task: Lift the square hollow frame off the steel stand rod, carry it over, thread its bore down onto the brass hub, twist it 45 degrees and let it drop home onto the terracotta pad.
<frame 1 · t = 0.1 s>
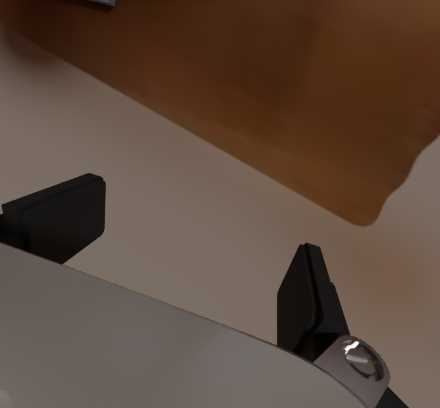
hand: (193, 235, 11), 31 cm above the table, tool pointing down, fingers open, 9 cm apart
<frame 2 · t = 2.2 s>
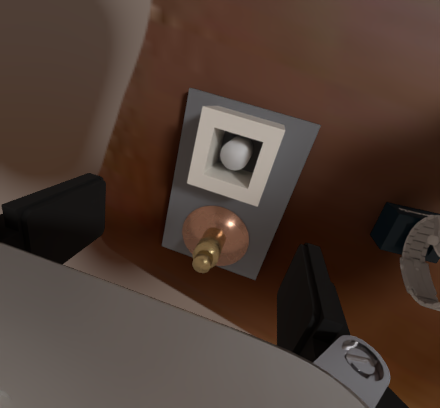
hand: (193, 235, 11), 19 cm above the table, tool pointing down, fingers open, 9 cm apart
board: (229, 192, 30), on the table
hub: (217, 231, 33), resting on board
watch: (402, 223, 27), on the table
square hollow frame: (240, 148, 26), point 1 cm above the table, touching board
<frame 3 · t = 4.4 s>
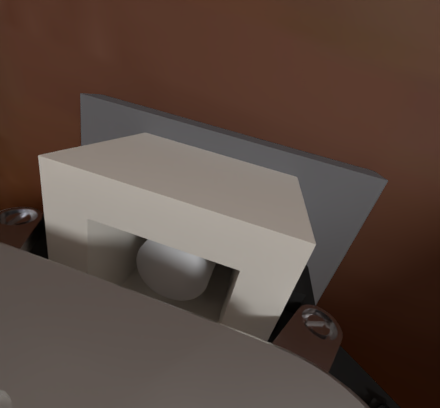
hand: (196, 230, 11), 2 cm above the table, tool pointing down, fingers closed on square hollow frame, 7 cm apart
board: (191, 286, 16), on the table
square hollow frame: (202, 221, 12), point 1 cm above the table, touching board, gripper
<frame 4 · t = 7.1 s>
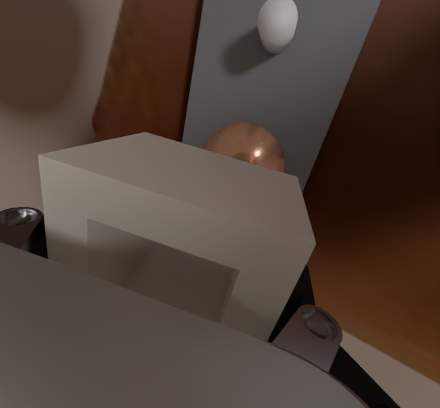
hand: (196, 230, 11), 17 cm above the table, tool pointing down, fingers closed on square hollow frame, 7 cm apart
board: (258, 107, 24), on the table
hub: (243, 163, 27), resting on board
square hollow frame: (202, 221, 12), point 16 cm above the table, touching gripper
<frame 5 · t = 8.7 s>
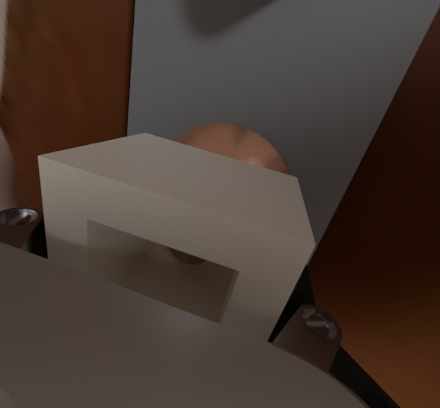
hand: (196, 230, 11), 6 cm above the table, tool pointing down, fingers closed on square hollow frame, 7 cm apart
board: (249, 98, 14), on the table
hub: (225, 187, 17), resting on board
square hollow frame: (202, 221, 12), point 5 cm above the table, touching gripper
when the fingers open (4 cm above the table, at t = 10.2 s): square hollow frame drops 2 cm, resting on hub.
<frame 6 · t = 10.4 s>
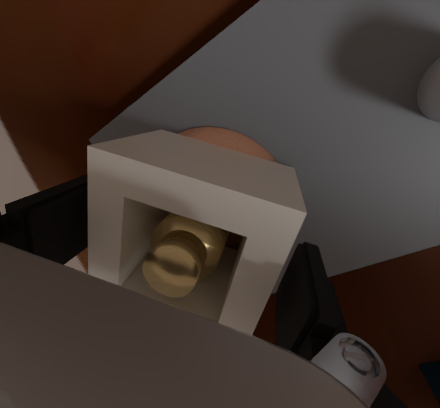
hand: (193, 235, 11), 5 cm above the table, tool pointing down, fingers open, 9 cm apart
board: (307, 152, 13), on the table
hub: (217, 197, 15), resting on board
square hollow frame: (211, 208, 14), point 2 cm above the table, touching hub
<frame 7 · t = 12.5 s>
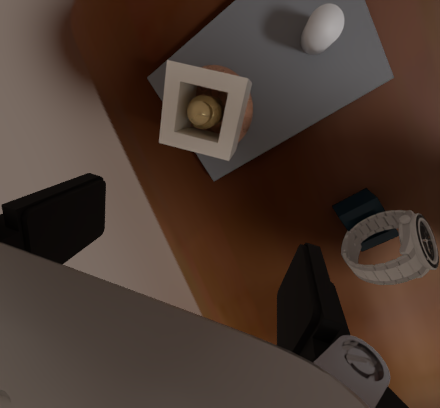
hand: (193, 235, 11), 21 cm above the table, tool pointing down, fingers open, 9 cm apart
board: (260, 79, 26), on the table
hub: (215, 110, 28), resting on board
watch: (359, 212, 30), on the table
square hollow frame: (212, 111, 27), point 2 cm above the table, touching hub
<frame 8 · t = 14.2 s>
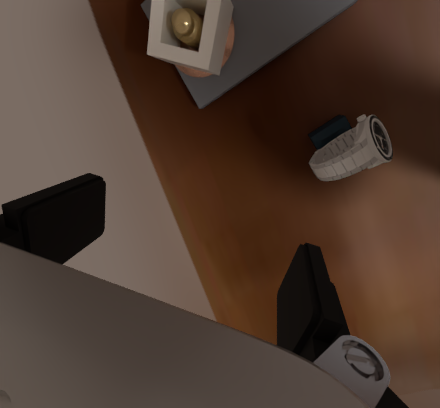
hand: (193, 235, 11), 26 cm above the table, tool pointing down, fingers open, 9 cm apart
board: (242, 6, 29), on the table
hub: (202, 39, 31), resting on board
watch: (333, 141, 32), on the table
square hollow frame: (198, 36, 29), point 2 cm above the table, touching hub
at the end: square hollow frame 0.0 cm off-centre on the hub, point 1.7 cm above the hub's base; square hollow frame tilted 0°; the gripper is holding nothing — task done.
